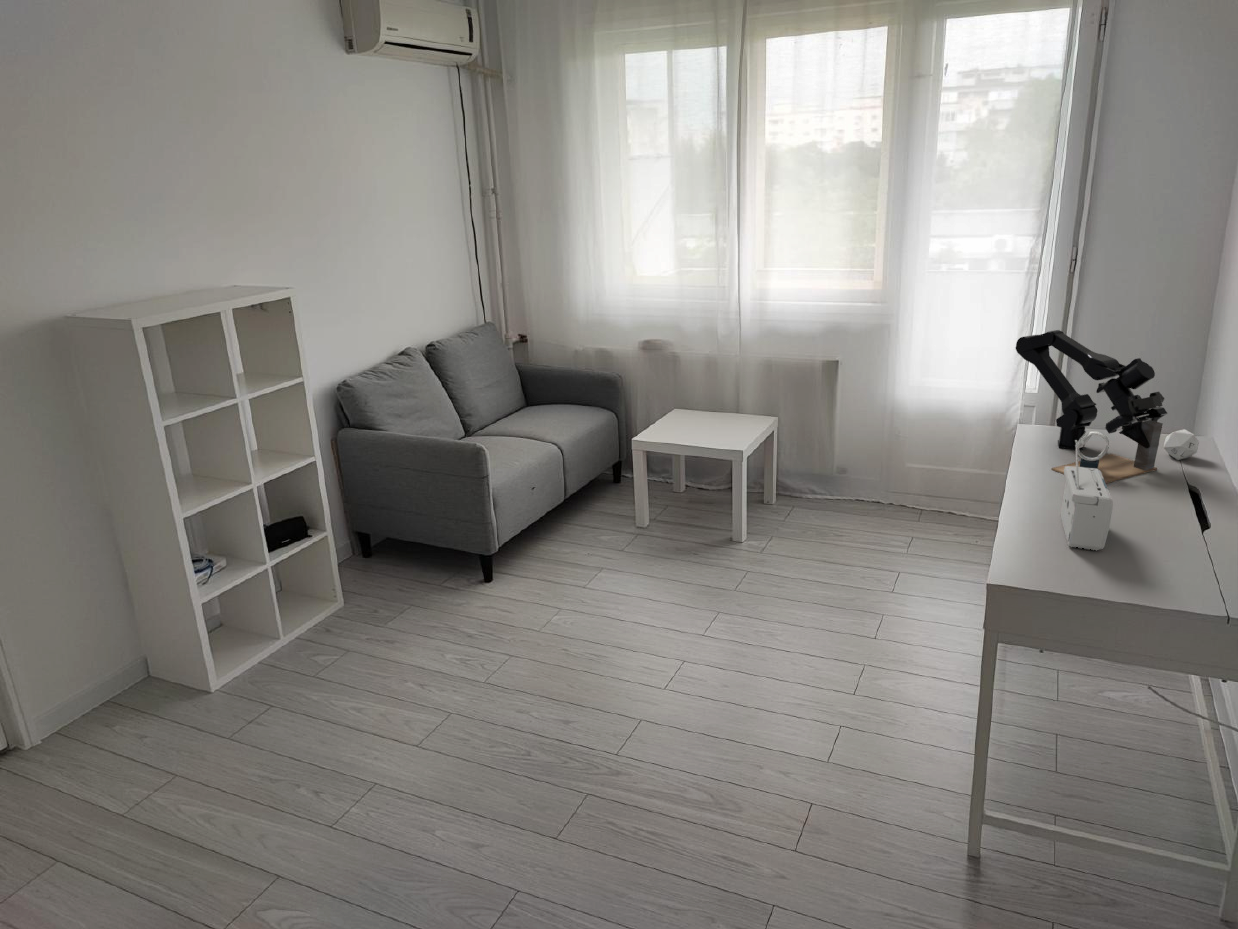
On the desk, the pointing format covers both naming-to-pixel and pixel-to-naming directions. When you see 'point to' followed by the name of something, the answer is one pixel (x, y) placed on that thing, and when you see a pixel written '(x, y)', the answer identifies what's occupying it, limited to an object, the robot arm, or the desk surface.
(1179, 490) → the desk surface
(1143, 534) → the desk surface
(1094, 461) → the watch
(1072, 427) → the robot arm
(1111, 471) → the pull board
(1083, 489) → the stereo radio cassette player
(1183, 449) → the die
